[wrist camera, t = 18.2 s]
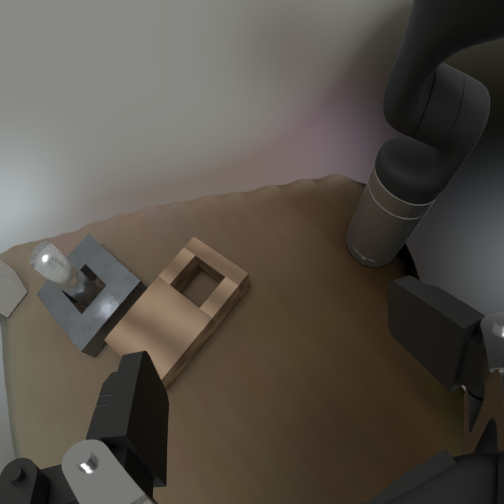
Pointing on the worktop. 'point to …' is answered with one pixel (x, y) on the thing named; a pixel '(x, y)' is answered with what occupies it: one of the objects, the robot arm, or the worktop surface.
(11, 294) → the milk carton
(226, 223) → the worktop surface
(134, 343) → the wooden block with hole
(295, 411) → the worktop surface
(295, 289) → the worktop surface
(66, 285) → the axle
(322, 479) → the worktop surface
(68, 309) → the holder
